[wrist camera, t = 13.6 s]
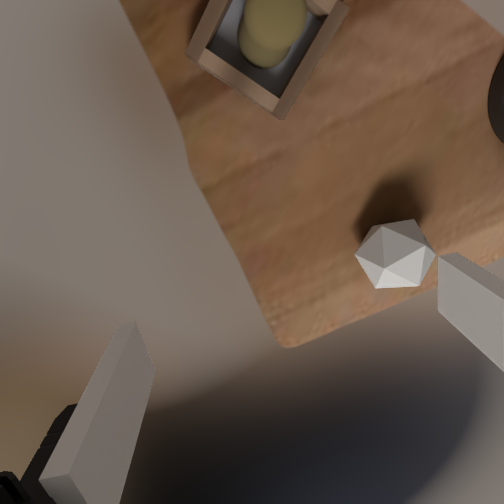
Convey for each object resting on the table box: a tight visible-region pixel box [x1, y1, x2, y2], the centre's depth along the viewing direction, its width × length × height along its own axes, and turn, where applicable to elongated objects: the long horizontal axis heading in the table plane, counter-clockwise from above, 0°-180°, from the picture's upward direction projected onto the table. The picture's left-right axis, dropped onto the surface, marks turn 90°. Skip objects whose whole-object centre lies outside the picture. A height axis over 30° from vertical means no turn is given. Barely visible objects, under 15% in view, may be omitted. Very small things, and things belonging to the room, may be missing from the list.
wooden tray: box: [185, 0, 350, 120], centre depth 35 cm, size 12×12×4 cm
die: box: [354, 219, 436, 288], centre depth 43 cm, size 8×9×10 cm
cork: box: [237, 0, 307, 69], centre depth 31 cm, size 6×6×11 cm
